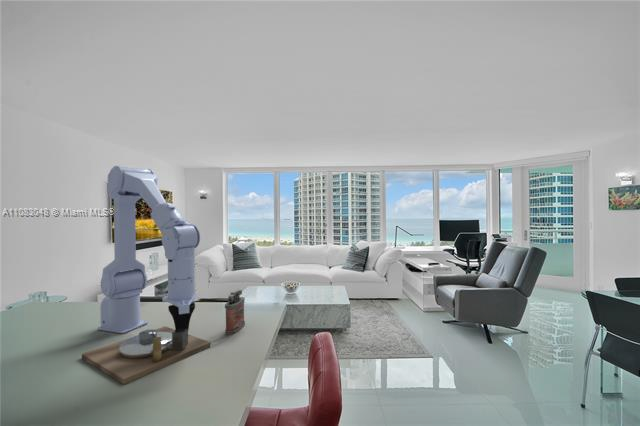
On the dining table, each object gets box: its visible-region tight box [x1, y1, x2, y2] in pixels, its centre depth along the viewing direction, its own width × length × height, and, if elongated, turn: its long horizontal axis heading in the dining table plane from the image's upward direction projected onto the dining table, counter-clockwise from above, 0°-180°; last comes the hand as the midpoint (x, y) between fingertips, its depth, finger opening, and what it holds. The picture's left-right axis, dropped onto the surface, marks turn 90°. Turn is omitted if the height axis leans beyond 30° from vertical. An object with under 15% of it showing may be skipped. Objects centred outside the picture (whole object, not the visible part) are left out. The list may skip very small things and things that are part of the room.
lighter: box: [224, 289, 246, 336], centre depth 85 cm, size 8×3×10 cm, turn 168°
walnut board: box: [81, 325, 211, 385], centre depth 72 cm, size 19×19×6 cm
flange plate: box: [120, 328, 189, 358], centre depth 71 cm, size 11×14×4 cm
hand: (182, 335), depth 73 cm, fingers closed, pressing on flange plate
